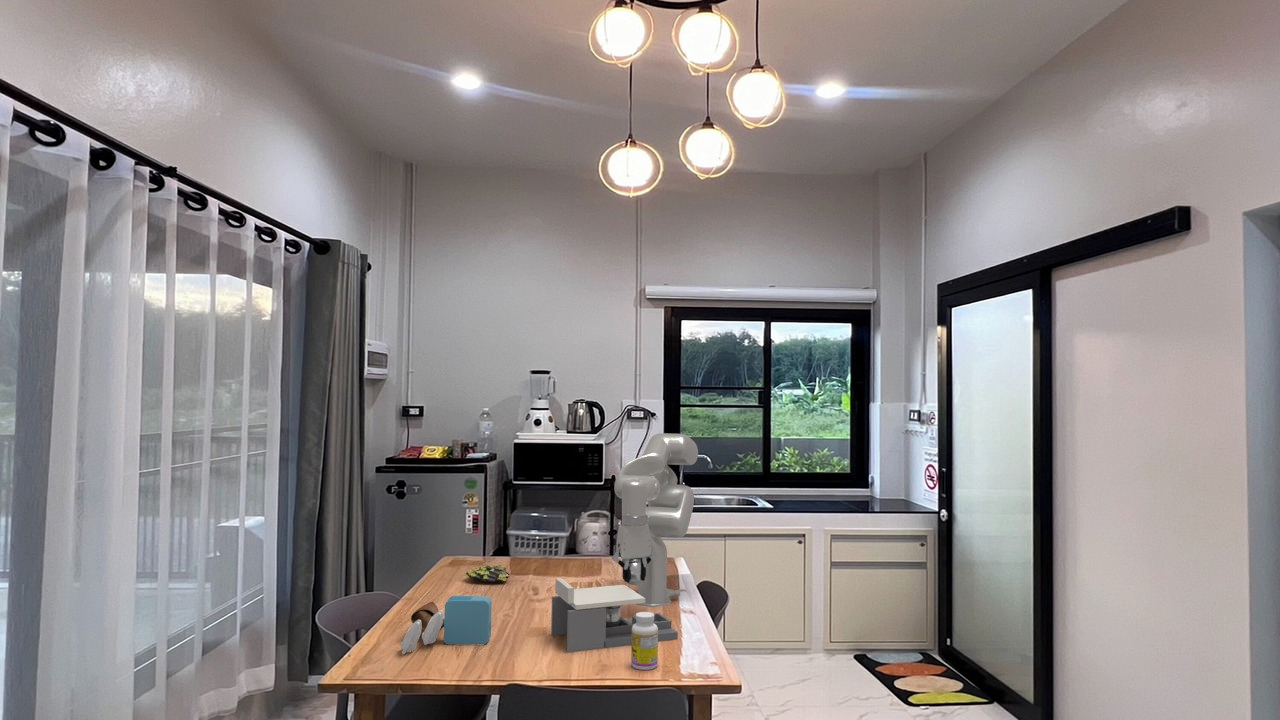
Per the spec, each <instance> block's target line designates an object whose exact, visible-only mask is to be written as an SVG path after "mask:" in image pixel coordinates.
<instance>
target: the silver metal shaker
mask: <svg viewBox="0 0 1280 720" xmlns="http://www.w3.org/2000/svg"><path fill="white" fill-rule="evenodd" d="M628 569H629V570H630V582H629V583H627V584H628V585H631V586H632V585H633V586H638V584H641V558H637V559H630V560H629V565H628Z"/></svg>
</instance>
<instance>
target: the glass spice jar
mask: <svg viewBox="0 0 1280 720" xmlns="http://www.w3.org/2000/svg"><path fill="white" fill-rule="evenodd" d="M621 607H622V605H618V606H608V607H606V628H607V627H616V626H620V617H621V609H622V608H621Z"/></svg>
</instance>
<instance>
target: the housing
mask: <svg viewBox="0 0 1280 720" xmlns="http://www.w3.org/2000/svg"><path fill="white" fill-rule="evenodd" d="M653 614H654V621H653V623H654V624H656V625H657V627H658V643H659V642H667V641H675V640H679V639H678V636H679V634H678V633H679V632H678V631H677V630H675V629H674V628H673V627H672V620H670V619H669V618H668V617H666V616H665V615H662V613H660V612H656V613H653ZM550 618H551V626H550V628H551V629H550V635H551V637H555V636H556V637H557V636H562V635H563V636H564V635H566V638H567V639H566V653H568V654H569V653H570V654H571V653H578V652H586V651H587V652H588V651H593V650H602V649H611V648H618V647H619V648H620V647H626V646H627V647H628V646H632V626H633V625H634V624H635V623H637V621H636V615H631V618H628V619H624V618H623V617H621V616H620V626H616V627H607V628H606V607H598V608H588V609H578V610H576V609H575V608H573V607H572V606H571V605H570V604H568V603H567V602H565V601H564V600H563V599H562V598H561V597H560V596H559V595H555V596H554V595H553V596H551V617H550Z"/></svg>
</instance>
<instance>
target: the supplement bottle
mask: <svg viewBox="0 0 1280 720" xmlns="http://www.w3.org/2000/svg"><path fill="white" fill-rule="evenodd" d="M635 616H636V621H637V623H635V624H634V625H633V626H632V645H631V653H630V655H631V656H630V657H631V659H630V663H631V667H632V668H634V669H636V670H640V671H650V670H653V669H656V668H657V666H658V661H659V660H658V653H659V652H658V651H659V649H658V647H659V642H658V627H657V625H656V624H654V623H653V621H654V613H653V612H649V611H640V612H636V613H635Z"/></svg>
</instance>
